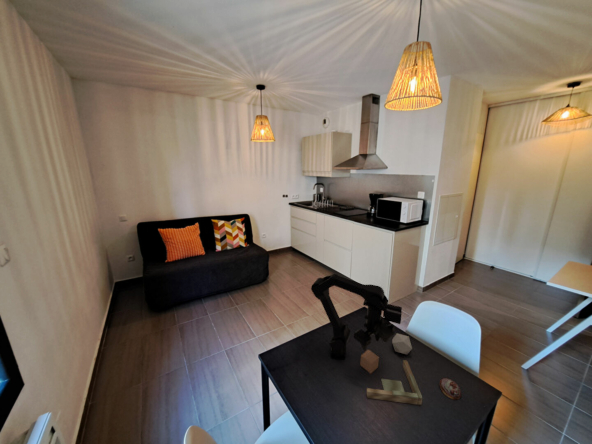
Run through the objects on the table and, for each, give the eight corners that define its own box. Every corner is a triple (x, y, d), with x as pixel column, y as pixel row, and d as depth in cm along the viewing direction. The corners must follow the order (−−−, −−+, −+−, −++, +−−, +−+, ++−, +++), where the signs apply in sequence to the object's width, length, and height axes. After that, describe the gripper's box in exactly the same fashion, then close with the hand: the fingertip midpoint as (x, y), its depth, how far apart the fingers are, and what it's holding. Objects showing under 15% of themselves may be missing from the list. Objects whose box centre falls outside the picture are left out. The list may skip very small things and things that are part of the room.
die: (411, 348, 111) (401, 328, 114) (419, 354, 103) (408, 332, 105) (395, 355, 111) (386, 334, 114) (402, 361, 103) (391, 339, 105)
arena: (367, 397, 87) (367, 390, 87) (361, 360, 104) (361, 354, 103) (421, 404, 85) (422, 398, 84) (406, 365, 101) (407, 359, 100)
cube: (370, 373, 97) (371, 363, 96) (360, 365, 102) (361, 355, 100) (377, 367, 101) (379, 357, 99) (367, 358, 105) (368, 349, 103)
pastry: (453, 403, 85) (455, 393, 84) (434, 386, 92) (436, 376, 91) (465, 394, 89) (468, 384, 87) (446, 378, 95) (448, 369, 94)
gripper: (378, 336, 83) (374, 370, 87) (403, 316, 94) (399, 346, 98) (354, 320, 91) (351, 351, 95) (380, 303, 102) (377, 332, 106)
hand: (370, 345), depth 98 cm, fingers open, 9 cm apart
